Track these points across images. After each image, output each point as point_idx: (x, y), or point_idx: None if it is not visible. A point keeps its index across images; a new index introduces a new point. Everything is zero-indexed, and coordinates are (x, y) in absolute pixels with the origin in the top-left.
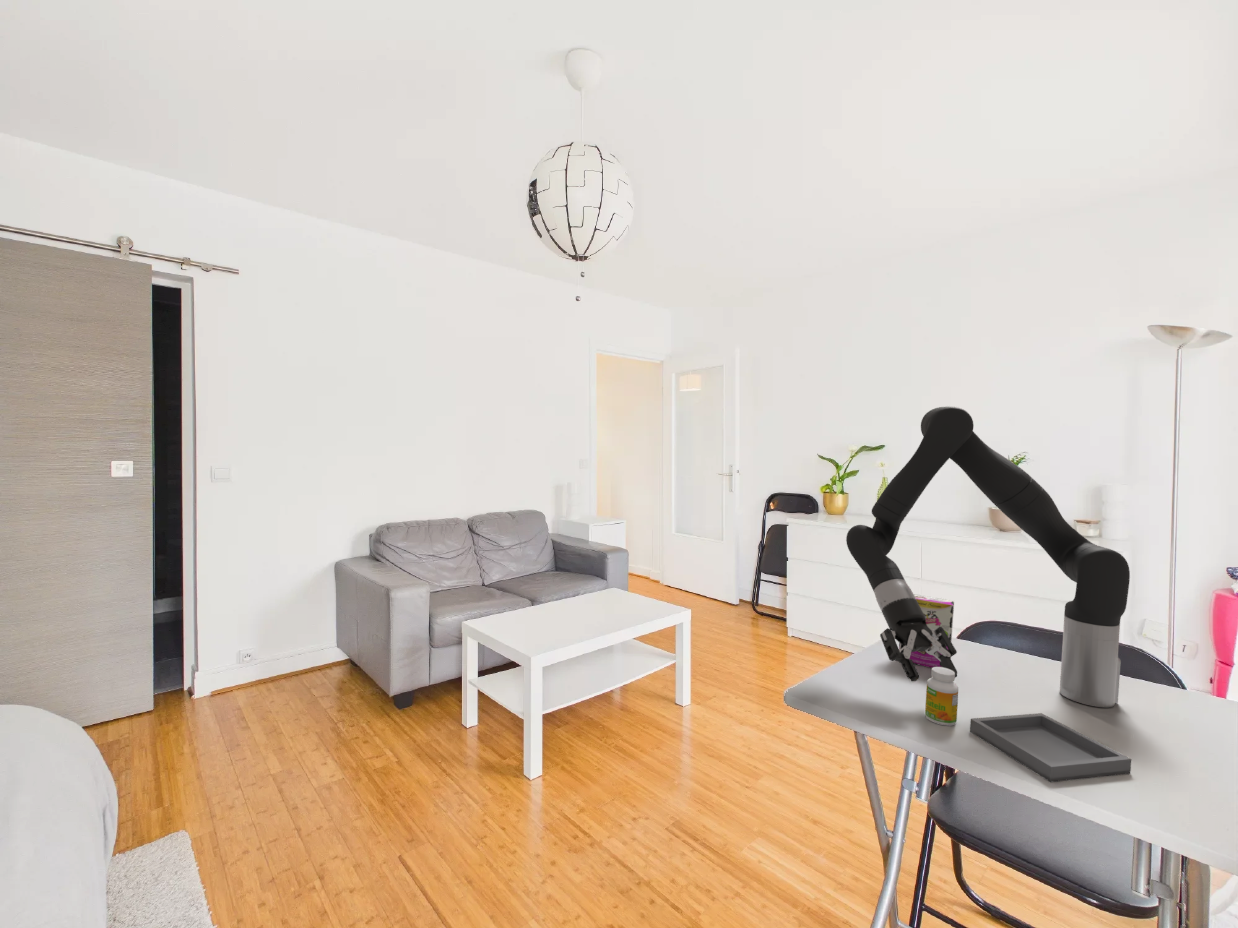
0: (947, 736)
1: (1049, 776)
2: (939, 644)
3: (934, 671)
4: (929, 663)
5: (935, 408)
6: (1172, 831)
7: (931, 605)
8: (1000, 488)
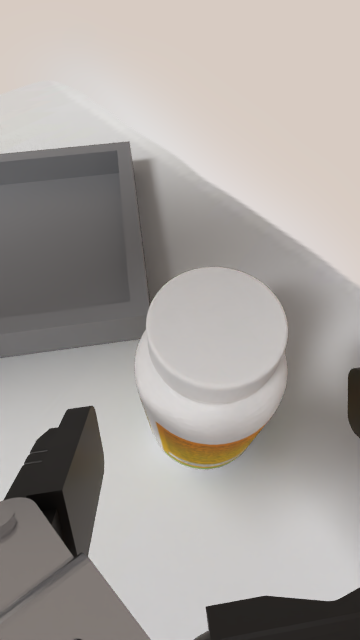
0: None
1: (132, 163)
2: (30, 606)
3: (284, 313)
4: None
5: None
6: (62, 100)
7: None
8: None
